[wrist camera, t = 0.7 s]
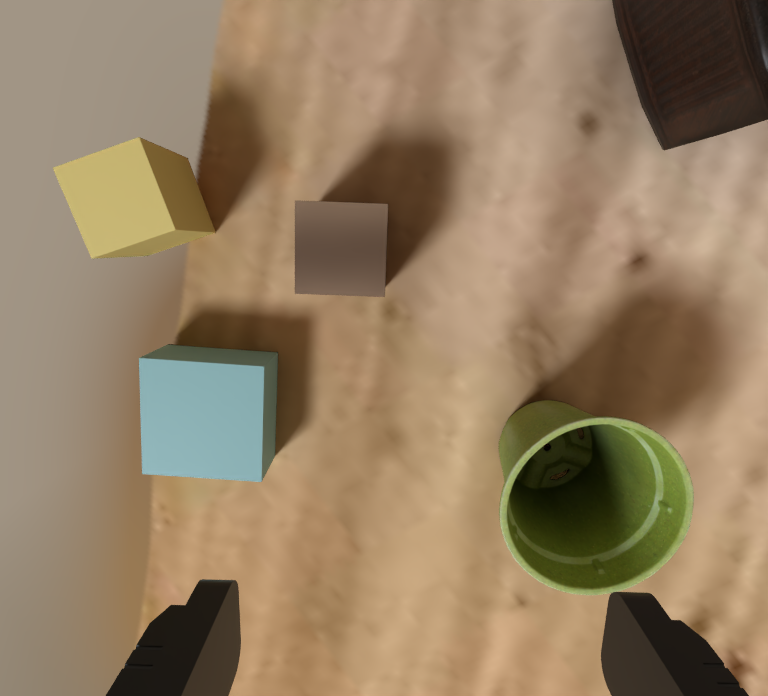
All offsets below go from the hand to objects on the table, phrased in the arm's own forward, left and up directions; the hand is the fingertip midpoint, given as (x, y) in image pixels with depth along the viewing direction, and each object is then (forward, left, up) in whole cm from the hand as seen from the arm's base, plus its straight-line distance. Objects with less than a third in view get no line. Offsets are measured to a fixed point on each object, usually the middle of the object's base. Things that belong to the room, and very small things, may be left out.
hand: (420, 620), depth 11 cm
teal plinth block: (+2, -11, -22) cm, 25 cm away
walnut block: (-8, -3, -22) cm, 24 cm away
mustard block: (-10, -14, -22) cm, 28 cm away
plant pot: (+4, +10, -22) cm, 25 cm away
